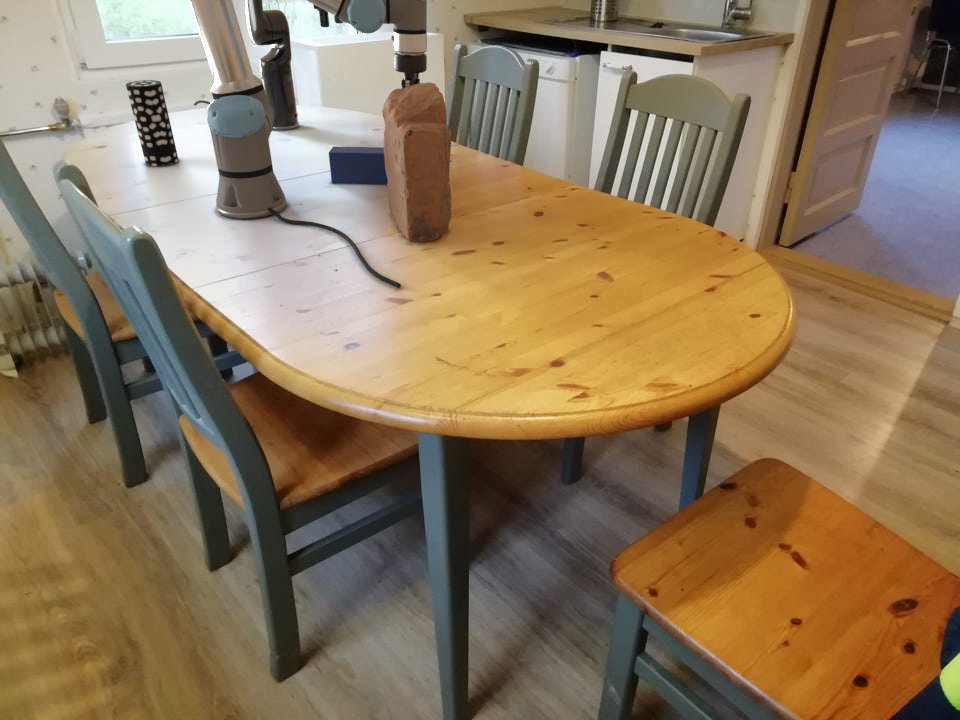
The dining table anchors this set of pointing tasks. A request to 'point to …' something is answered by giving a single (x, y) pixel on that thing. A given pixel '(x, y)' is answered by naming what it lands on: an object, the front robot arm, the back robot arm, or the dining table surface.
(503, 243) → the dining table surface
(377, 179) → the bar
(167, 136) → the black spotted cylinder
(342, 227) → the dining table surface
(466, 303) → the dining table surface
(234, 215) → the front robot arm
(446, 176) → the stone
